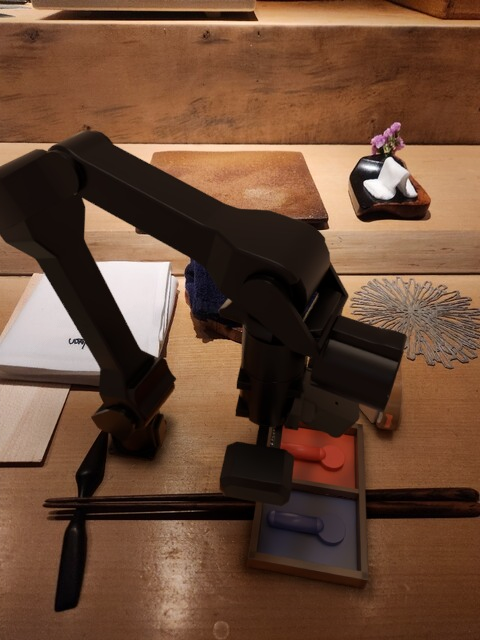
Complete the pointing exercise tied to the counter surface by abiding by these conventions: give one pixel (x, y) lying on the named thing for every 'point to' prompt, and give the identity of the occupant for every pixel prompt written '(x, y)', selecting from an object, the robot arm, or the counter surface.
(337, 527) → the indigo spoon
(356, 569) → the sorting tray
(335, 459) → the vermilion spoon
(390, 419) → the tin
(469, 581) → the counter surface
